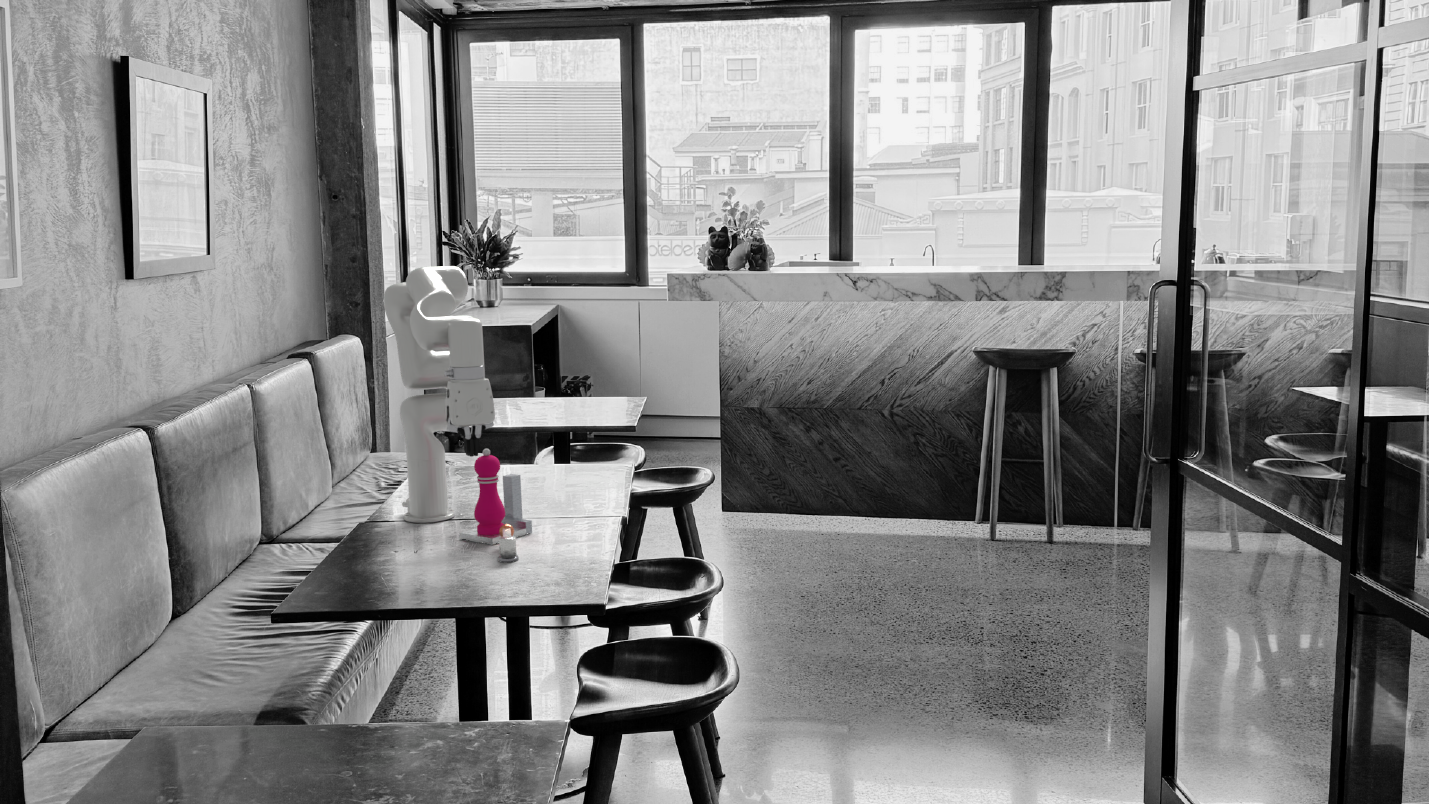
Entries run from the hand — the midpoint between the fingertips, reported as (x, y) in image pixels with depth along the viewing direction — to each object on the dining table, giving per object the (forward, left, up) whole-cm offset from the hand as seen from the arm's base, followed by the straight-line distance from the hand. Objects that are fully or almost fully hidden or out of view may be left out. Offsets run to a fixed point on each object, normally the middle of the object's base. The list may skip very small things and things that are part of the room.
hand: (472, 455), depth 262 cm
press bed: (+1, +9, -22) cm, 24 cm away
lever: (+7, +3, -21) cm, 23 cm away
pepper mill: (-6, +10, -21) cm, 24 cm away
